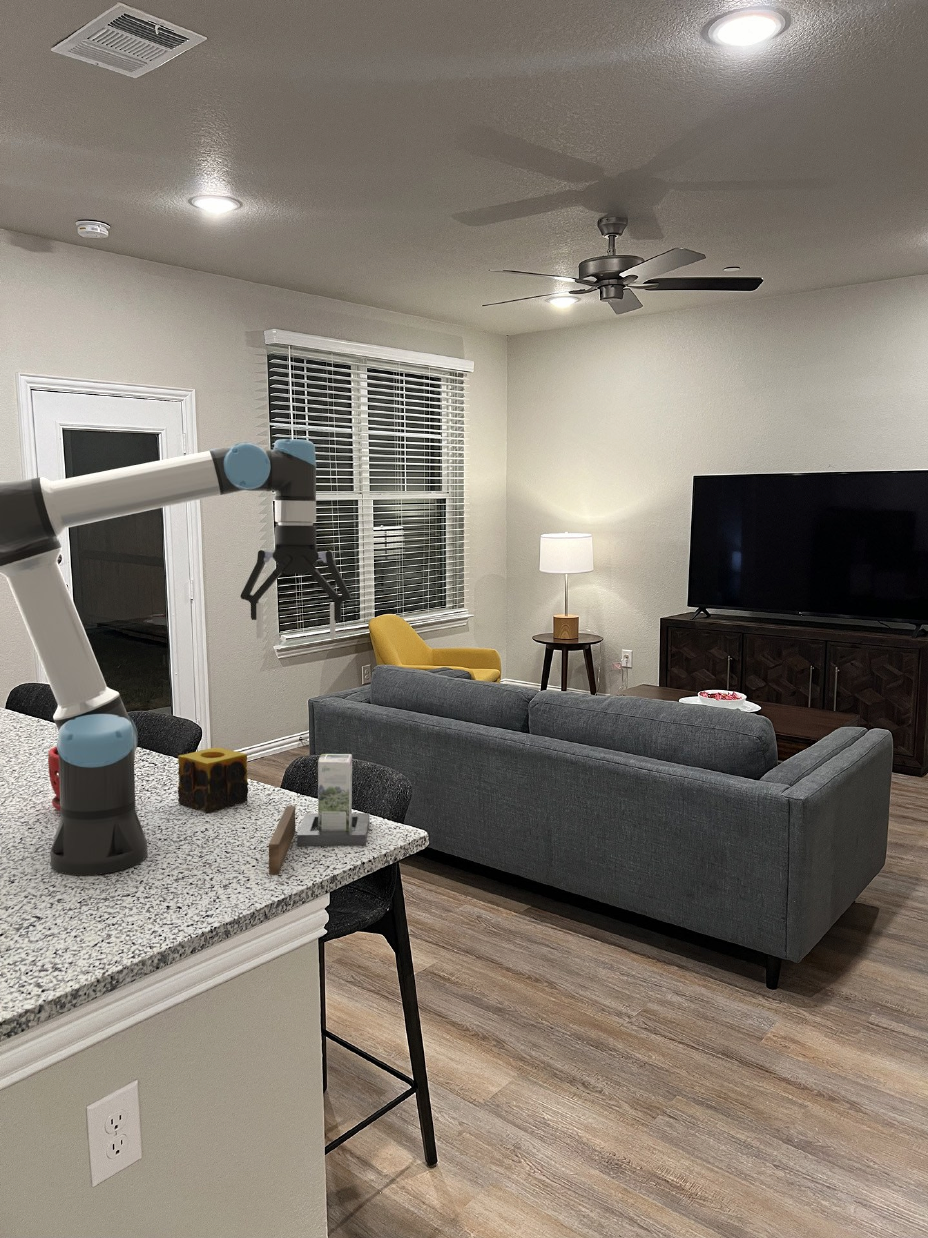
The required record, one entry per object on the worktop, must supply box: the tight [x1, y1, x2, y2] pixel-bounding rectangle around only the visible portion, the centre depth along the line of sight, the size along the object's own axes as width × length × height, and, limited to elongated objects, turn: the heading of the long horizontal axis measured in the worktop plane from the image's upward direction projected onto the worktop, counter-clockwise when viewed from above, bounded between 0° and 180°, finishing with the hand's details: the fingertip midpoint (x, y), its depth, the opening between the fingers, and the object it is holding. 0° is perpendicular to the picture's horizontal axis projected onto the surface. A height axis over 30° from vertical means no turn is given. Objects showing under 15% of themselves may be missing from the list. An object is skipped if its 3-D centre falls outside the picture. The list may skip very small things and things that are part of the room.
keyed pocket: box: [296, 812, 371, 847], centre depth 171 cm, size 12×12×2 cm
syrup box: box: [317, 753, 353, 831], centre depth 170 cm, size 6×6×14 cm
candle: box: [177, 746, 249, 814], centre depth 188 cm, size 10×10×10 cm
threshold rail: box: [268, 805, 296, 875], centre depth 161 cm, size 2×20×5 cm, turn 3°
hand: (296, 637), depth 177 cm, fingers open, 13 cm apart
